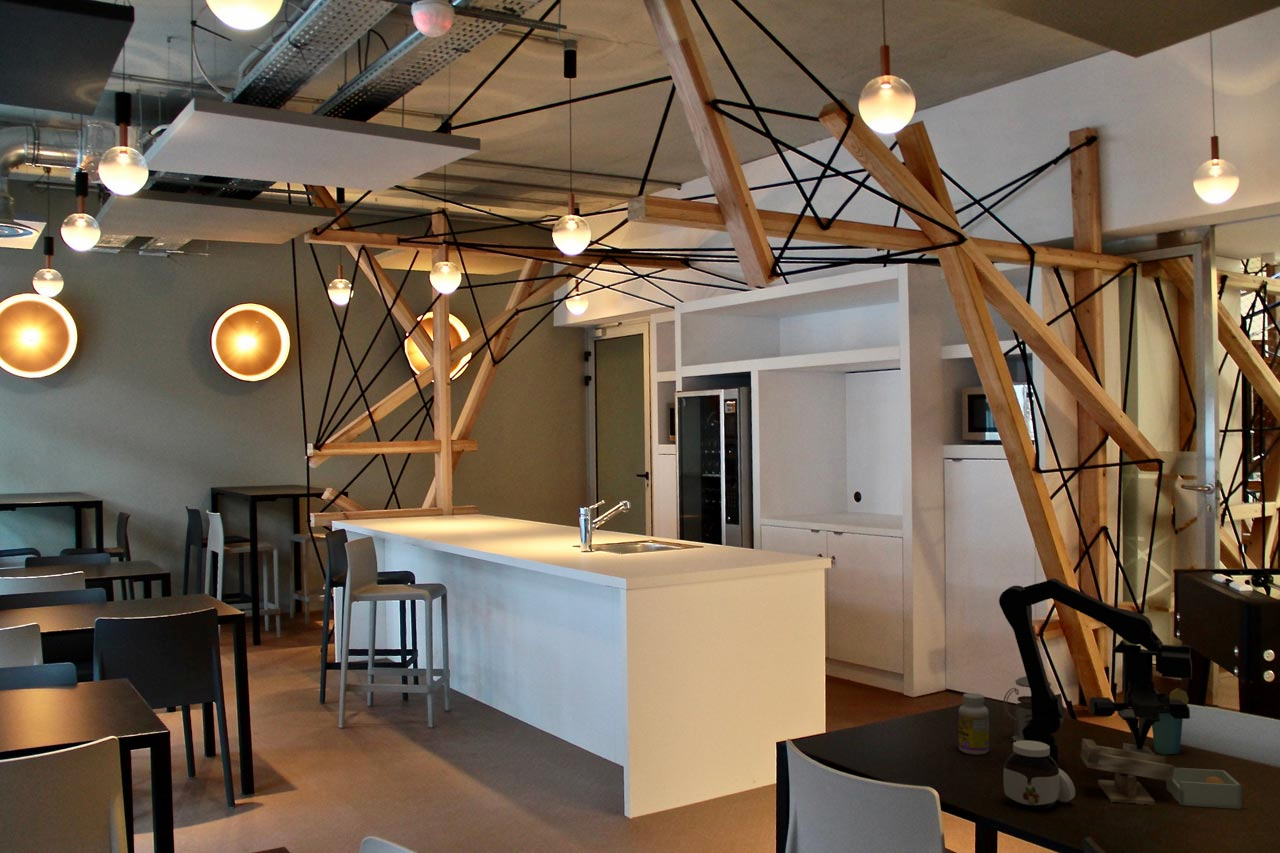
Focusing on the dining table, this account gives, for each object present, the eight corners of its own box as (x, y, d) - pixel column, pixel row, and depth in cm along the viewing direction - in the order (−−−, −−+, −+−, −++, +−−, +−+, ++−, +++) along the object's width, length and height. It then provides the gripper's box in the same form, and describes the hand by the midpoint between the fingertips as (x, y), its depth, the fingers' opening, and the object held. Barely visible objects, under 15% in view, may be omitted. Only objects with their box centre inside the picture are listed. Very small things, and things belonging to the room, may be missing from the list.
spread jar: (998, 803, 214) (998, 744, 215) (1020, 789, 223) (1020, 732, 223) (1060, 817, 207) (1060, 756, 207) (1080, 802, 215) (1080, 743, 216)
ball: (1232, 796, 215) (1212, 803, 215) (1225, 789, 219) (1205, 796, 219) (1223, 777, 215) (1203, 784, 216) (1216, 770, 219) (1197, 777, 220)
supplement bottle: (954, 747, 253) (954, 692, 253) (981, 746, 254) (981, 691, 254) (965, 755, 246) (965, 699, 247) (993, 755, 247) (993, 698, 247)
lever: (1087, 767, 218) (1089, 747, 218) (1070, 744, 235) (1072, 725, 235) (1172, 781, 215) (1174, 761, 215) (1149, 756, 232) (1151, 738, 232)
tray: (1180, 805, 214) (1180, 782, 214) (1166, 788, 223) (1166, 767, 224) (1241, 809, 212) (1241, 785, 212) (1224, 792, 221) (1224, 770, 221)
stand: (1111, 802, 215) (1111, 777, 215) (1098, 783, 227) (1098, 759, 227) (1154, 805, 214) (1154, 779, 214) (1139, 785, 225) (1139, 761, 225)
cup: (1162, 761, 243) (1162, 693, 243) (1130, 752, 249) (1130, 687, 249) (1198, 751, 250) (1198, 686, 250) (1166, 743, 257) (1166, 679, 257)
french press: (1061, 746, 254) (1061, 639, 254) (1011, 746, 254) (1011, 639, 254) (1046, 734, 264) (1046, 631, 264) (998, 734, 264) (998, 631, 264)
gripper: (1099, 681, 224) (1101, 757, 224) (1197, 684, 221) (1198, 761, 220) (1088, 670, 235) (1089, 742, 235) (1181, 672, 232) (1182, 746, 231)
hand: (1139, 748), depth 230 cm, fingers closed, pressing on lever
